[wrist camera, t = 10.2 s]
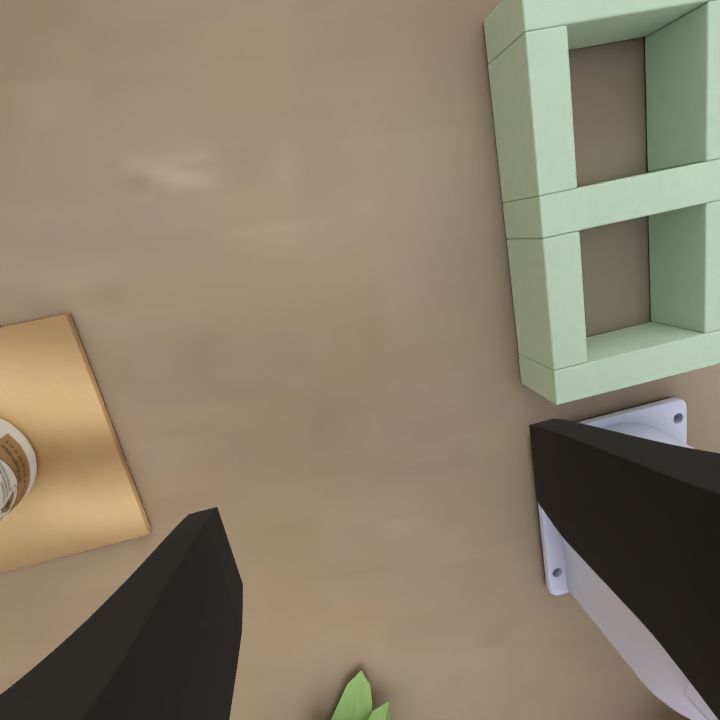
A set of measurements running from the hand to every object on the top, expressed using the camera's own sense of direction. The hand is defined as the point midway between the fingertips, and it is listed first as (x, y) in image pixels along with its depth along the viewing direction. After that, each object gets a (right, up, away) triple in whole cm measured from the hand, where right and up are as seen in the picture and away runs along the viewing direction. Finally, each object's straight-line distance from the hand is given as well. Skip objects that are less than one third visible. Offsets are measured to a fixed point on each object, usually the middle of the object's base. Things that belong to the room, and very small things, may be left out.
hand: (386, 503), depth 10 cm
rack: (+9, +10, +10) cm, 17 cm away
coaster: (-16, -1, +9) cm, 18 cm away
